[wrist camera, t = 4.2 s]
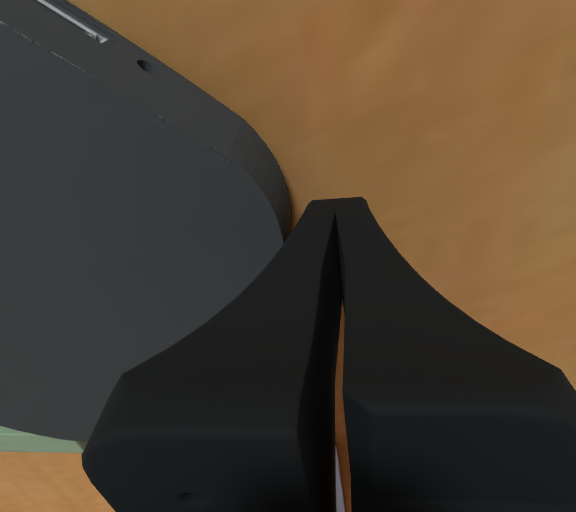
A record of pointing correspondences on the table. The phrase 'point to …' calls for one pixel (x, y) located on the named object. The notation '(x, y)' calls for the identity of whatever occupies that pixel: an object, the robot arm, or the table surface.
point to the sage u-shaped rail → (36, 443)
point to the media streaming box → (113, 213)
